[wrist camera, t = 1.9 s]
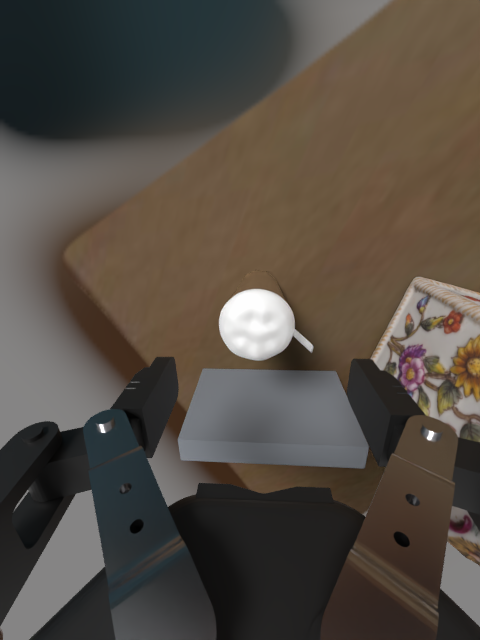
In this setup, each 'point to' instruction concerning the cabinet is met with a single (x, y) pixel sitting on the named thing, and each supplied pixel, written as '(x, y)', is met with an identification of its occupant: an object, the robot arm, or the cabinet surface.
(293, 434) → the screen
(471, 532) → the decorative jar
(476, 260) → the cabinet surface
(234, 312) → the milkshake
